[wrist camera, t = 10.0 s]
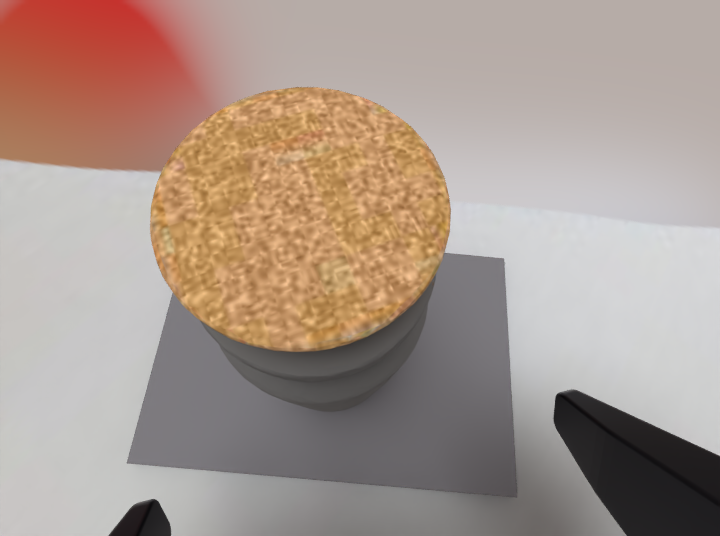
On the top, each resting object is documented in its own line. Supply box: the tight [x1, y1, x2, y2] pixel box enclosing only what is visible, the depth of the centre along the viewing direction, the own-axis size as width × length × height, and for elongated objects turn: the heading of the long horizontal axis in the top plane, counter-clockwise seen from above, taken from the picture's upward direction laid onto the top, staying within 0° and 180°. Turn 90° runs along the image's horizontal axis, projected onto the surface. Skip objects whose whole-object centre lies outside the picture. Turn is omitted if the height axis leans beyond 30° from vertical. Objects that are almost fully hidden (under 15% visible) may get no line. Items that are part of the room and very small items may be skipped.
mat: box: [127, 253, 517, 497], centre depth 20 cm, size 18×12×1 cm, turn 85°
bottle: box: [150, 87, 451, 412], centre depth 13 cm, size 6×6×15 cm
